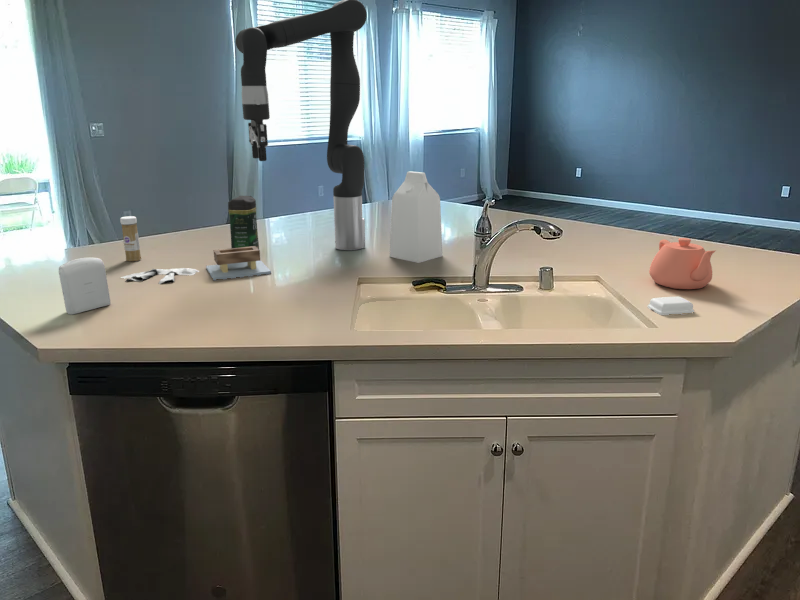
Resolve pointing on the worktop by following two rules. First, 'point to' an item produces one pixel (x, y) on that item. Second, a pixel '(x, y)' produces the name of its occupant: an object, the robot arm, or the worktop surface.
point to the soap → (670, 305)
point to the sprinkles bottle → (130, 238)
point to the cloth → (167, 278)
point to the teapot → (681, 265)
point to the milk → (416, 220)
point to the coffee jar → (243, 222)
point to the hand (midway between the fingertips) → (259, 159)
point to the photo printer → (84, 284)
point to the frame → (236, 255)
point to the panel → (237, 270)
